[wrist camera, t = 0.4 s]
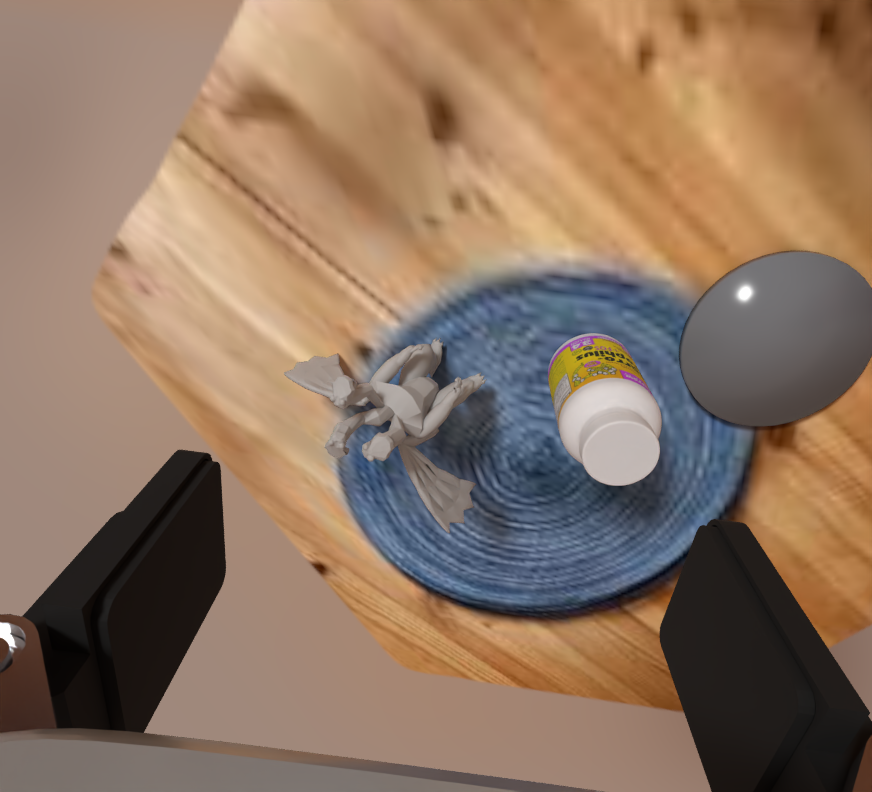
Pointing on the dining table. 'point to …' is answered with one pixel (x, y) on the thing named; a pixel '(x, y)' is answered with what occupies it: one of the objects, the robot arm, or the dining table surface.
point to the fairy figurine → (398, 418)
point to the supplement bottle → (604, 409)
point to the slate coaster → (777, 338)
